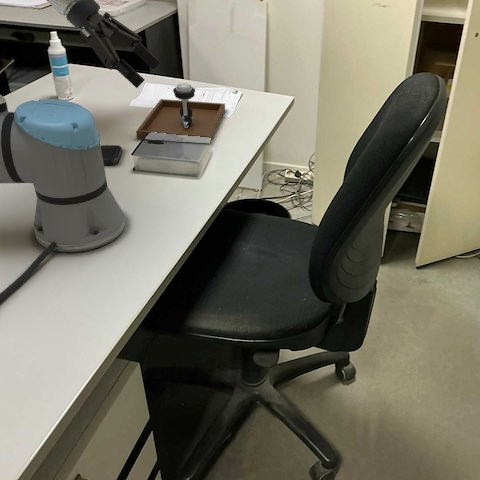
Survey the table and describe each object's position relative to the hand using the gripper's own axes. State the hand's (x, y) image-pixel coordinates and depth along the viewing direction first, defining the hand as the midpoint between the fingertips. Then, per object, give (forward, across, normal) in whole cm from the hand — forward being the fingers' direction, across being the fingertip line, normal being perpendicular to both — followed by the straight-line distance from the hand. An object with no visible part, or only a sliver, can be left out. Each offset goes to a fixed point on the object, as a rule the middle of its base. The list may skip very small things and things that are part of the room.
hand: (149, 74), depth 135 cm
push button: (+15, 0, +3) cm, 15 cm away
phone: (+2, -21, +16) cm, 27 cm away
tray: (+14, +1, +4) cm, 15 cm away
